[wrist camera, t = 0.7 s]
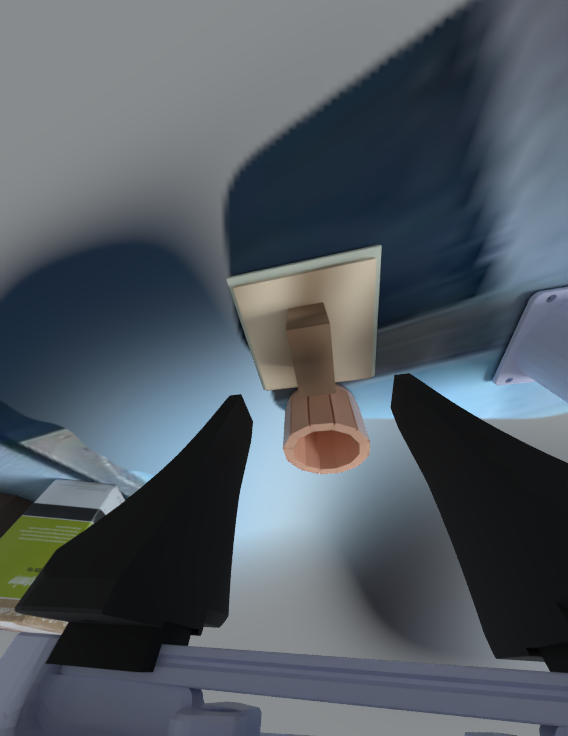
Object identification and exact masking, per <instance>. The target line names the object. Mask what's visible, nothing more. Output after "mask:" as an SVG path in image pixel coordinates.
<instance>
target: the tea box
mask: <svg viewBox="0 0 568 736" xmlns="http://www.w3.org/2000/svg"><path fill="white" fill-rule="evenodd" d="M124 501H125V499H124V497H123V496H122V494H121V492H120V490H119V488H118V487H117V485H111V484H103V483H94V482H85V481H76V480H65V479H56V480H55V481H54V482H53V483H52V484H51V485H50V486H49V487H48V488H47V489H46V490H45V491H44V492H43V493H42V494H41V495H40V497H39V498H38V499H37V500H36V501H35V502H34V503H33V504H32V505H31V506H30V507H29V508H28V509H27V510H26V512H25V513H24V514H23V515H22V516H21V517H20V518H19V519H18V520H17V521H16V522H15V523H14V524H13V525H12V527H11V528H10V529H9V530H8V531H7V532H6V533H5V534H4V535H3V536H2V537H1V538H0V629H1V630H7V631H13V632H20V633H21V632H30V633H44V634H57V635H62V633H63V631H64V629H65V627H66V626H67V624H68V622H65V621H59V620H53V619H47V618H41V617H35V616H30V615H24V614H20V613H17V612H15V606H16V605H17V604H18V602H19V601H20V599H21V598H22V597H23V595H24V594H25V592H26V591H27V590H28V588H29V587H30V585H31V584H32V583H33V581H34V580H35V578H36V577H37V576H38V574H39V573H40V571H41V570H42V569H43V567H44V566H45V564H46V563H47V562H48V560H49V559H50V557H51V556H52V555H53V553H54V552H55V551H56V550H57V549H58V548H59V547H61V546H62V545H64V544H65V543H67V542H68V541H70V540H71V539H73V538H74V537H75V536H77V535H78V534H80V533H81V532H83V531H84V530H86V529H87V528H88V527H90V526H91V525H93V524H94V523H96V522H97V521H98V520H100V519H101V518H103V517H104V516H105V515H107V514H108V513H109V512H111V511H112V510H113V509H115V508H116V507H117V506H119V505H120V504H121V503H123V502H124Z"/></svg>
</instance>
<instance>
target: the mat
mask: <svg viewBox="0 0 568 736" xmlns="http://www.w3.org/2000/svg"><path fill="white" fill-rule="evenodd" d="M381 247H382V246H381V245H374V246H370V247H365V248H360V249H356V250H351V251H347V252H342V253H337V254H333V255H328V256H323V257H319V258H314V259H310V260H305V261H300V262H296V263H291V264H286V265H282V266H277V267H273V268H268V269H263V270H259V271H254V272H249V273H245V274H240V275H236V276H231V277H228V278H227V279H226V280H227V283H228V286H229V289H230V292H231V295H232V298H233V301H234V304H235V307H236V310H237V313H238V316H239V319H240V321H241V324H242V327H243V330H244V333H245V336H246V339H247V342H248V345H249V348H250V351H251V354H252V357H253V360H254V363H255V365H256V369H257V372H258V375H259V377H260V380H261V383H262V386H263V389H264V390H265V389H266V388H265V385H264V382H263V379H262V376H261V373H260V370H259V367H258V364H257V361H256V358H255V355H254V352H253V349H252V345H251V342H250V339H249V336H248V333H247V330H246V327H245V324H244V321H243V318H242V315H241V312H240V309H239V306H238V303H237V300H236V297H235V294H234V291H233V287H234V286H235V285H239V284H243V283H248V282H253V281H258V280H263V279H267V278H272V277H277V276H282V275H287V274H291V273H296V272H301V271H306V270H311V269H315V268H320V267H325V266H330V265H335V264H339V263H344V262H349V261H354V260H358V259H363V258H368V257H375V258H377V261H376V284H375V308H374V331H373V355H372V376H375V360H376V341H377V322H378V303H379V284H380V265H381Z"/></svg>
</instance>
